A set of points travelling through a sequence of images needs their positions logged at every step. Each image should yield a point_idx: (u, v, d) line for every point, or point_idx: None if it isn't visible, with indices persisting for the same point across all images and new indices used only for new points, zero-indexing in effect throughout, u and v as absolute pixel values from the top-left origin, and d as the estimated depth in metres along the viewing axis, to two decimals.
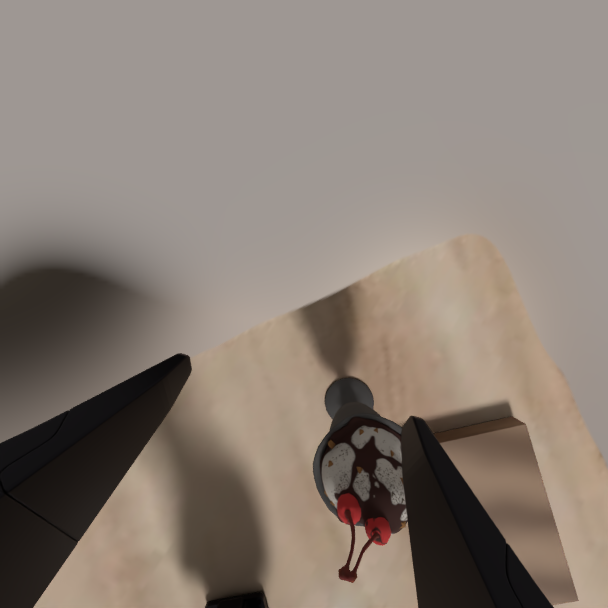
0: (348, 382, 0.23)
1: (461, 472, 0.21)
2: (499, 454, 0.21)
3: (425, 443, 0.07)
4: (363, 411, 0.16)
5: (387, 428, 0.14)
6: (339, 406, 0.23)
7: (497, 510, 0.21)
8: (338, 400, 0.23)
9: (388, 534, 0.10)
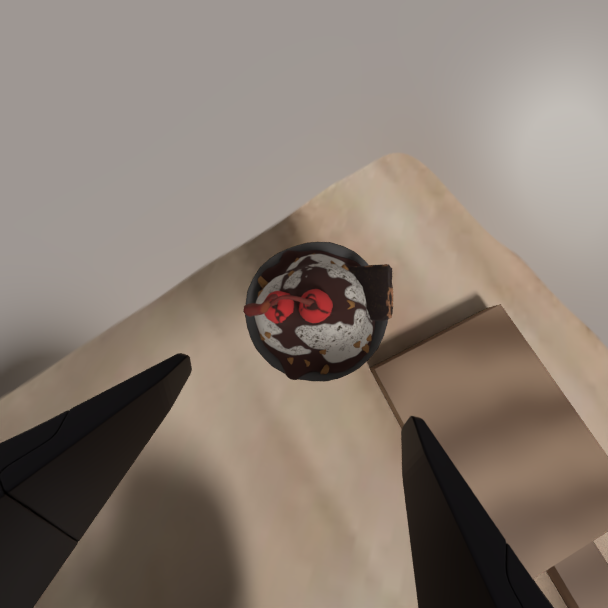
0: None
1: (453, 374, 0.18)
2: (486, 342, 0.18)
3: (425, 443, 0.07)
4: None
5: (326, 252, 0.11)
6: None
7: (508, 411, 0.17)
8: None
9: (326, 298, 0.07)
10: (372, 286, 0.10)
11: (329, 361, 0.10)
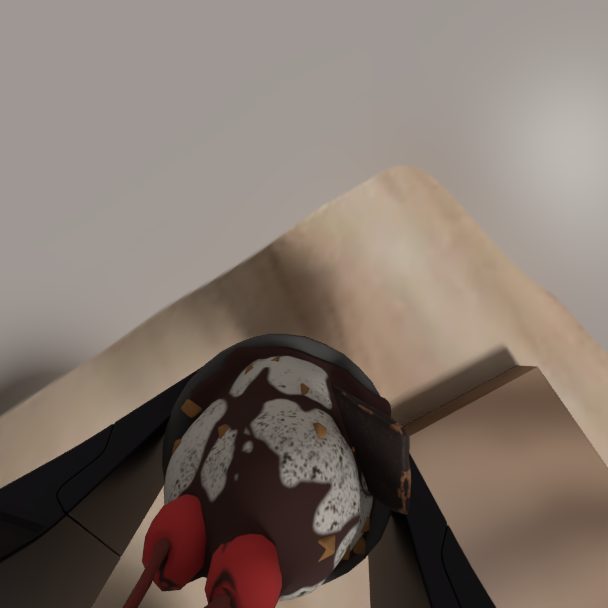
0: None
1: (478, 463, 0.14)
2: (520, 419, 0.14)
3: None
4: None
5: (298, 353, 0.07)
6: None
7: (552, 517, 0.13)
8: None
9: (263, 587, 0.03)
10: (372, 447, 0.05)
11: None
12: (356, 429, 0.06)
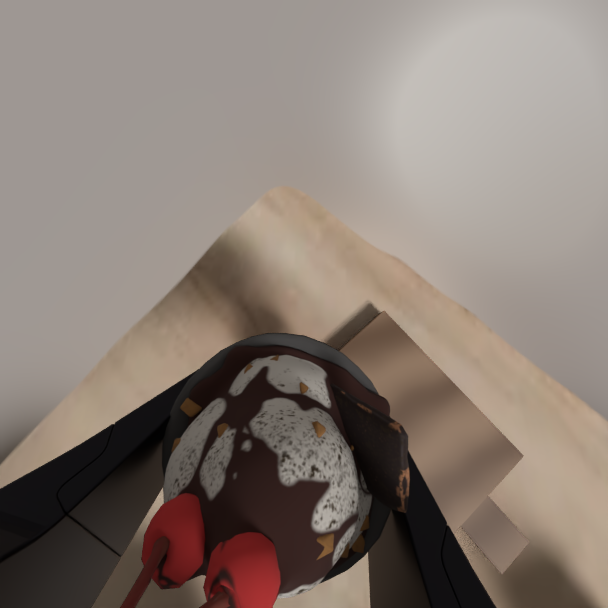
0: None
1: None
2: (377, 348, 0.21)
3: None
4: None
5: (298, 352, 0.07)
6: None
7: (405, 404, 0.20)
8: None
9: (262, 584, 0.03)
10: (370, 446, 0.05)
11: None
12: (355, 428, 0.06)
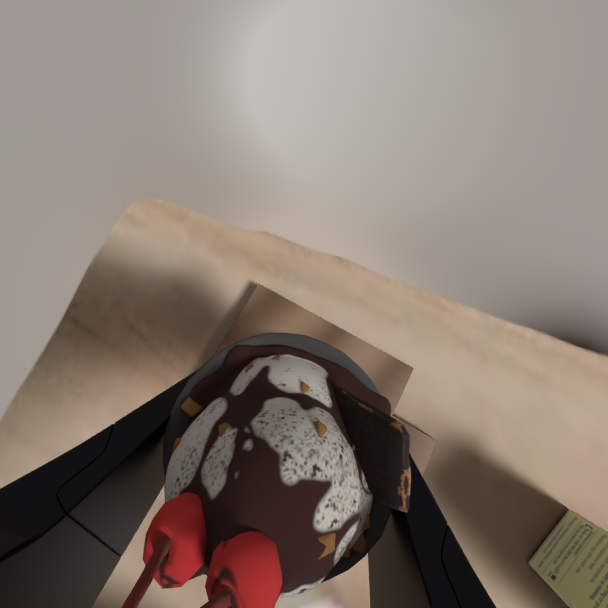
0: None
1: None
2: (261, 320, 0.21)
3: None
4: None
5: (299, 352, 0.07)
6: None
7: None
8: None
9: (264, 584, 0.03)
10: (372, 445, 0.05)
11: None
12: (356, 427, 0.06)
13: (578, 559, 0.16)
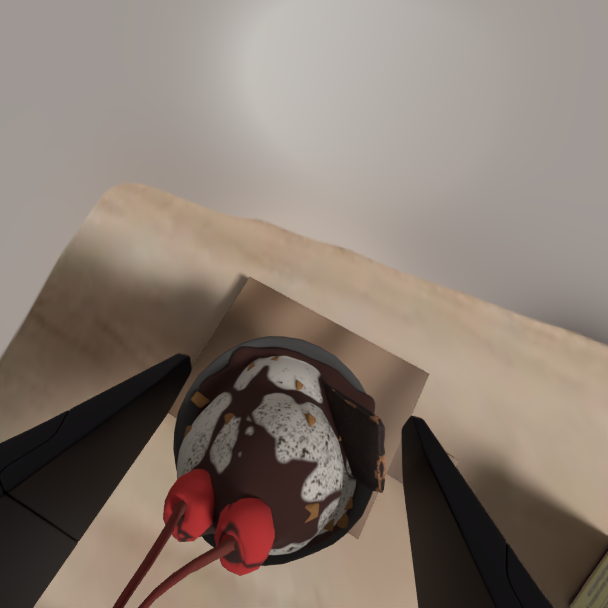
0: None
1: None
2: (252, 319, 0.18)
3: (425, 443, 0.07)
4: None
5: (295, 354, 0.08)
6: None
7: None
8: None
9: (260, 535, 0.04)
10: (355, 436, 0.06)
11: None
12: (342, 421, 0.07)
13: None
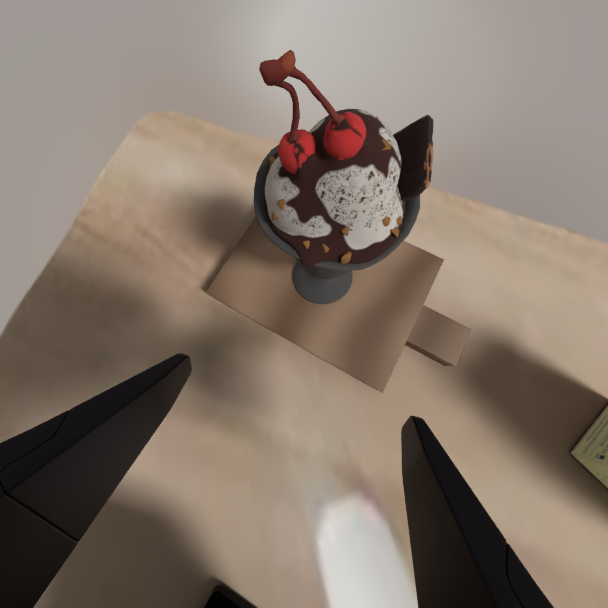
0: None
1: (269, 256, 0.19)
2: None
3: (425, 443, 0.07)
4: None
5: None
6: (310, 275, 0.18)
7: None
8: None
9: (360, 118, 0.06)
10: (406, 153, 0.08)
11: (351, 246, 0.09)
12: None
13: None
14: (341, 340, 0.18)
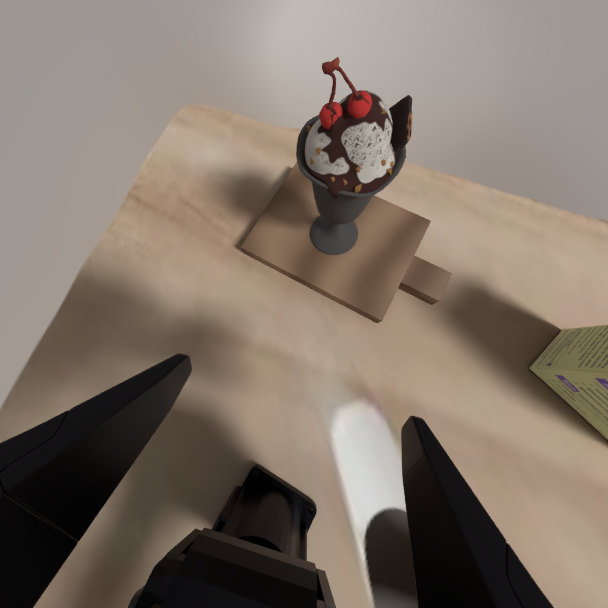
0: None
1: (291, 218, 0.24)
2: (300, 188, 0.25)
3: (425, 443, 0.07)
4: None
5: None
6: (324, 231, 0.23)
7: None
8: (322, 227, 0.23)
9: (368, 94, 0.11)
10: (396, 120, 0.13)
11: (361, 180, 0.13)
12: None
13: (569, 347, 0.20)
14: (349, 282, 0.23)
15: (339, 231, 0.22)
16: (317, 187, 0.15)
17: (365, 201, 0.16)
